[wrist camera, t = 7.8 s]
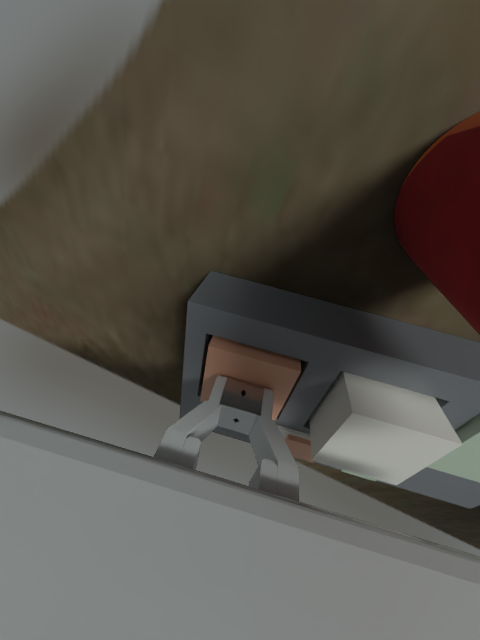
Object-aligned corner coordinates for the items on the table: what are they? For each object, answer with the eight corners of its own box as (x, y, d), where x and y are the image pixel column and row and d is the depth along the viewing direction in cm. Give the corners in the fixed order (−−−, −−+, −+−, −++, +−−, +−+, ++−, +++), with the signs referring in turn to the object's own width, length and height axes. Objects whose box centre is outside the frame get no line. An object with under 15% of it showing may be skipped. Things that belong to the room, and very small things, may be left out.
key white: (433, 394, 11) (462, 444, 9) (381, 438, 14) (396, 485, 12) (342, 369, 11) (352, 412, 9) (309, 417, 14) (311, 459, 12)
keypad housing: (577, 368, 12) (681, 444, 9) (442, 453, 18) (475, 518, 15) (211, 270, 13) (183, 306, 10) (196, 382, 19) (176, 428, 16)
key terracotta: (299, 339, 12) (301, 372, 10) (276, 388, 15) (274, 422, 13) (221, 317, 13) (208, 345, 11) (211, 370, 15) (200, 400, 13)
